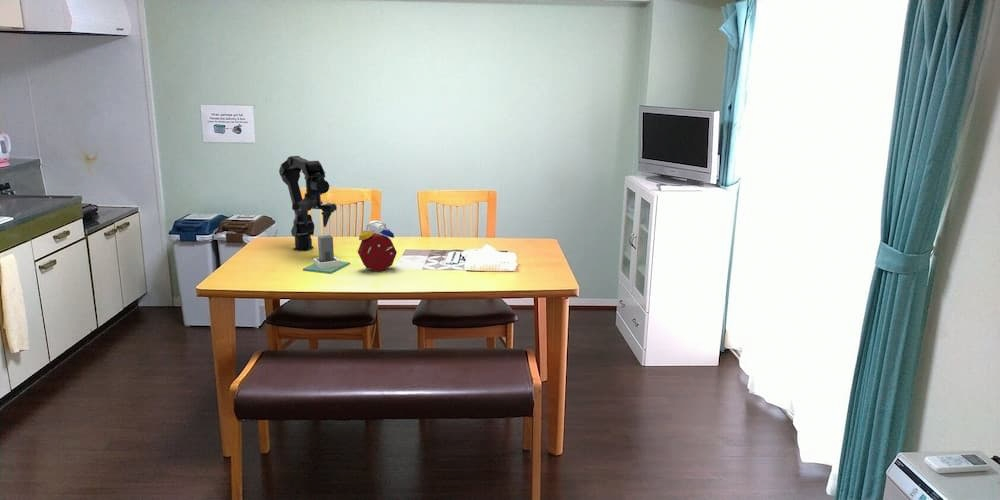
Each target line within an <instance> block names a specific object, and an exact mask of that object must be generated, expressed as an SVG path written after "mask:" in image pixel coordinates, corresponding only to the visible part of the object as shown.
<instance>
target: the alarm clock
mask: <svg viewBox="0 0 1000 500" xmlns="http://www.w3.org/2000/svg"><path fill="white" fill-rule="evenodd" d="M375 223H379V222H374V223H371V224H369V223H368V224H367V225H366V230H362V232H361V233H360V234H359V237H358V241H360V244H359V247H358V249H357V253H358V256H359V258H360V260H361V262H362V264H363V266H364V267H365V270H364V271H365V272H367V271H368V270H369V269H370V270H372V271H376V272H378V273H379V272H382V271H384V270H385V269H389V270H390V269H391V267H392V266H393V265H394V261H395V259H396V256H397V253H398V252H397V250H396V248H395V246H394V245H395V244H394V243H393V241H392V239H394V238H395V235H394V232H393V231H391V230H390V228H387V225H386V223H383V222H382V223H379V224H384V225H385V229H386V230H382V231H381V232H380V233H381V234H383V235H386V236H383V235H380V234H377V233H375V232H374V231H375V230H373V231H372V232H374V234H373V233H372V232H371V231H369V225H372V224H375ZM391 238H392V239H391Z"/></svg>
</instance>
